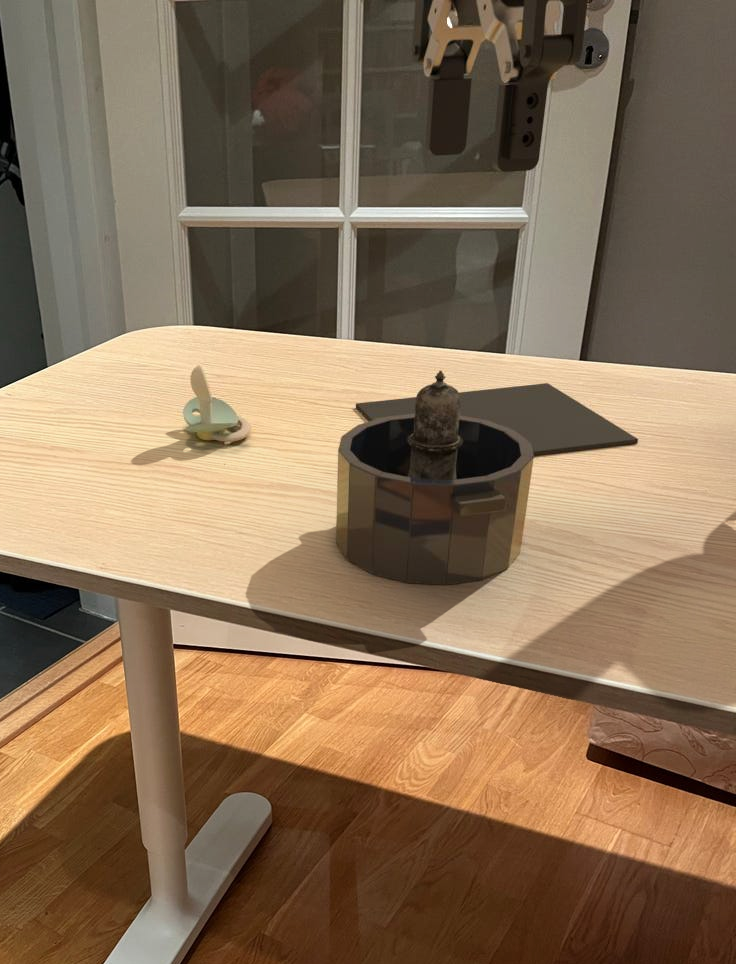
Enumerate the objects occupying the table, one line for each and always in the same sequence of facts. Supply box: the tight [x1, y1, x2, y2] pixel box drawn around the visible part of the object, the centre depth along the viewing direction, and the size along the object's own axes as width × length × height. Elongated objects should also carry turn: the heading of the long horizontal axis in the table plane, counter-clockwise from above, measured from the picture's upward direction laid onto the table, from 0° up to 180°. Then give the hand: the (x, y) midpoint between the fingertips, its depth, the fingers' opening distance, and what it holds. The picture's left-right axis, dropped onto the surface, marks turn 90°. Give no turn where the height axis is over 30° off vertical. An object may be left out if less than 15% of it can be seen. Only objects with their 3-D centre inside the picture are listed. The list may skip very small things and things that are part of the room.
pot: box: [335, 414, 535, 586], centre depth 64 cm, size 13×16×7 cm
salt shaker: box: [407, 370, 463, 480], centre depth 62 cm, size 6×6×12 cm
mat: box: [355, 382, 639, 457], centre depth 85 cm, size 20×16×1 cm
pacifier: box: [182, 364, 252, 443], centre depth 83 cm, size 7×6×6 cm
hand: (476, 161), depth 50 cm, fingers open, 8 cm apart
